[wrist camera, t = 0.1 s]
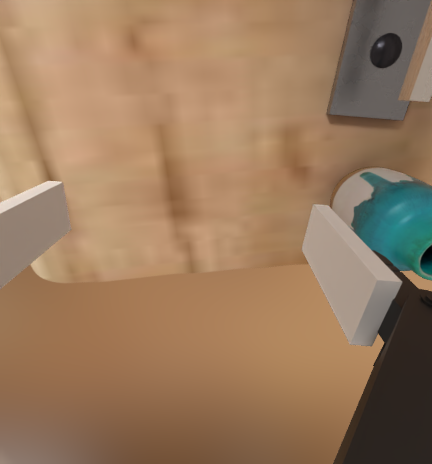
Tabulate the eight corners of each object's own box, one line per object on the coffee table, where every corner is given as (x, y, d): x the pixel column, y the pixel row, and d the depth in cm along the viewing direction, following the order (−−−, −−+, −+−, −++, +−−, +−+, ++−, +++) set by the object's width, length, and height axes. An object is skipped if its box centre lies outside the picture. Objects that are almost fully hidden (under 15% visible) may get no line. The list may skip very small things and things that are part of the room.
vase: (321, 229, 45) (381, 308, 28) (320, 166, 41) (391, 215, 23) (388, 219, 44) (492, 296, 27) (394, 153, 39) (526, 195, 22)
